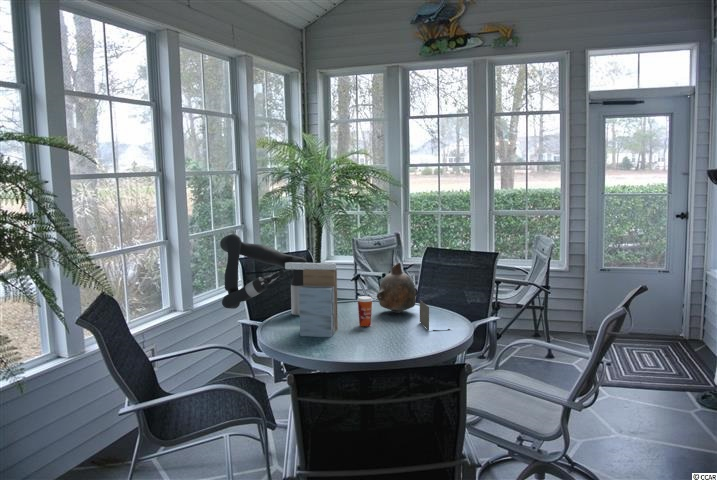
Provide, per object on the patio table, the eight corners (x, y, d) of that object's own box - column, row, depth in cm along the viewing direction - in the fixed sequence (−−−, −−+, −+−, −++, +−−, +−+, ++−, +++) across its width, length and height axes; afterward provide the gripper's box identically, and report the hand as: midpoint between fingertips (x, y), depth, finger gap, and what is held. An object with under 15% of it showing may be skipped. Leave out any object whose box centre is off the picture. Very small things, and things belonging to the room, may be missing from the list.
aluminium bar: (287, 268, 297) (287, 262, 297) (336, 269, 292) (335, 263, 292) (285, 269, 293) (285, 263, 293) (334, 270, 289) (334, 264, 289)
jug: (392, 306, 347) (392, 258, 344) (423, 311, 335) (423, 260, 331) (369, 315, 328) (369, 263, 324) (401, 320, 315) (401, 266, 312)
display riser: (307, 328, 300) (306, 267, 297) (337, 329, 298) (336, 268, 294) (300, 335, 286) (298, 272, 282) (331, 337, 283) (330, 273, 279)
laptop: (451, 331, 294) (452, 306, 292) (428, 332, 292) (428, 307, 291) (441, 322, 312) (441, 298, 310) (419, 323, 310) (419, 299, 308)
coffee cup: (361, 327, 300) (361, 299, 298) (354, 324, 307) (354, 297, 305) (375, 325, 303) (375, 298, 302) (368, 322, 311) (368, 295, 309)
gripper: (247, 283, 292) (273, 268, 289) (257, 278, 306) (282, 263, 303) (255, 296, 292) (281, 281, 289) (264, 290, 306) (289, 276, 303)
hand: (281, 272), depth 296 cm, fingers open, 8 cm apart
